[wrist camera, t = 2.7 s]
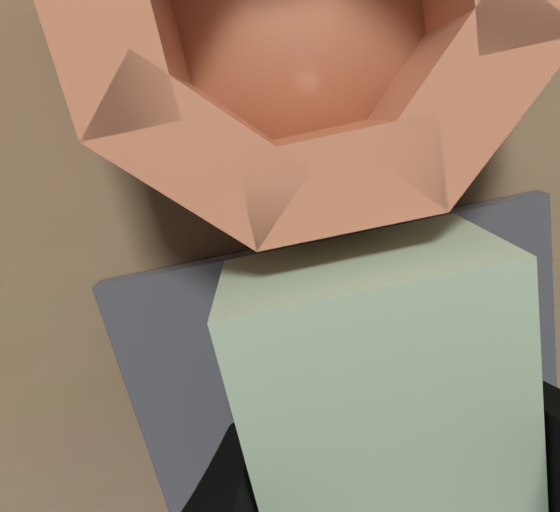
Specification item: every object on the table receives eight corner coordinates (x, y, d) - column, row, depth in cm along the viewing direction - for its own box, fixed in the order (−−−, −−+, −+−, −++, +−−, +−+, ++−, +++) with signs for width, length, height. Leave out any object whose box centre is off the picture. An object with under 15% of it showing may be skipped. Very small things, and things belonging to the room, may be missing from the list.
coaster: (550, 485, 14) (560, 498, 14) (191, 552, 14) (188, 567, 14) (537, 190, 11) (549, 193, 11) (99, 280, 12) (91, 288, 11)
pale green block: (483, 512, 14) (555, 643, 10) (296, 547, 14) (307, 687, 10) (453, 213, 11) (536, 256, 8) (224, 260, 11) (207, 322, 8)
